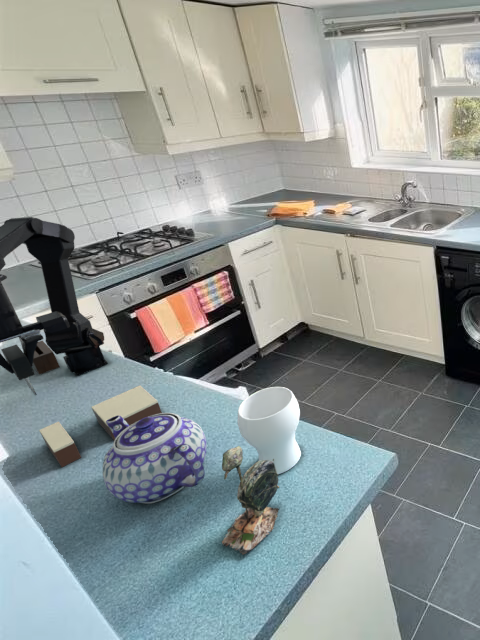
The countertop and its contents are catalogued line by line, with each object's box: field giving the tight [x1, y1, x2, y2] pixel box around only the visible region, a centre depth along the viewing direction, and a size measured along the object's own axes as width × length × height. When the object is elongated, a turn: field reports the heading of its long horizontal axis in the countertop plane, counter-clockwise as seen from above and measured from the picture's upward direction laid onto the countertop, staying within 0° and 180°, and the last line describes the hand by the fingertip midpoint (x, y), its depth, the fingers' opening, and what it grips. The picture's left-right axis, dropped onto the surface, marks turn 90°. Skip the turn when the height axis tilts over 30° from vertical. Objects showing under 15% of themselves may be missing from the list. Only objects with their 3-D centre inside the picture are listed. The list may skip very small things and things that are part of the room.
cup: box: [236, 386, 302, 475], centre depth 85 cm, size 11×11×15 cm
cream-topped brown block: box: [38, 421, 82, 468], centre depth 88 cm, size 3×10×4 cm, turn 57°
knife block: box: [32, 340, 61, 375], centre depth 116 cm, size 4×10×5 cm, turn 57°
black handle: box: [0, 344, 38, 396], centre depth 94 cm, size 2×8×10 cm, turn 57°
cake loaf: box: [91, 385, 163, 442], centre depth 97 cm, size 9×10×4 cm
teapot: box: [102, 412, 208, 504], centre depth 81 cm, size 25×15×15 cm, turn 66°
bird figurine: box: [221, 445, 280, 555], centre depth 72 cm, size 8×11×20 cm
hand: (22, 369), depth 94 cm, fingers closed on black handle, 2 cm apart
